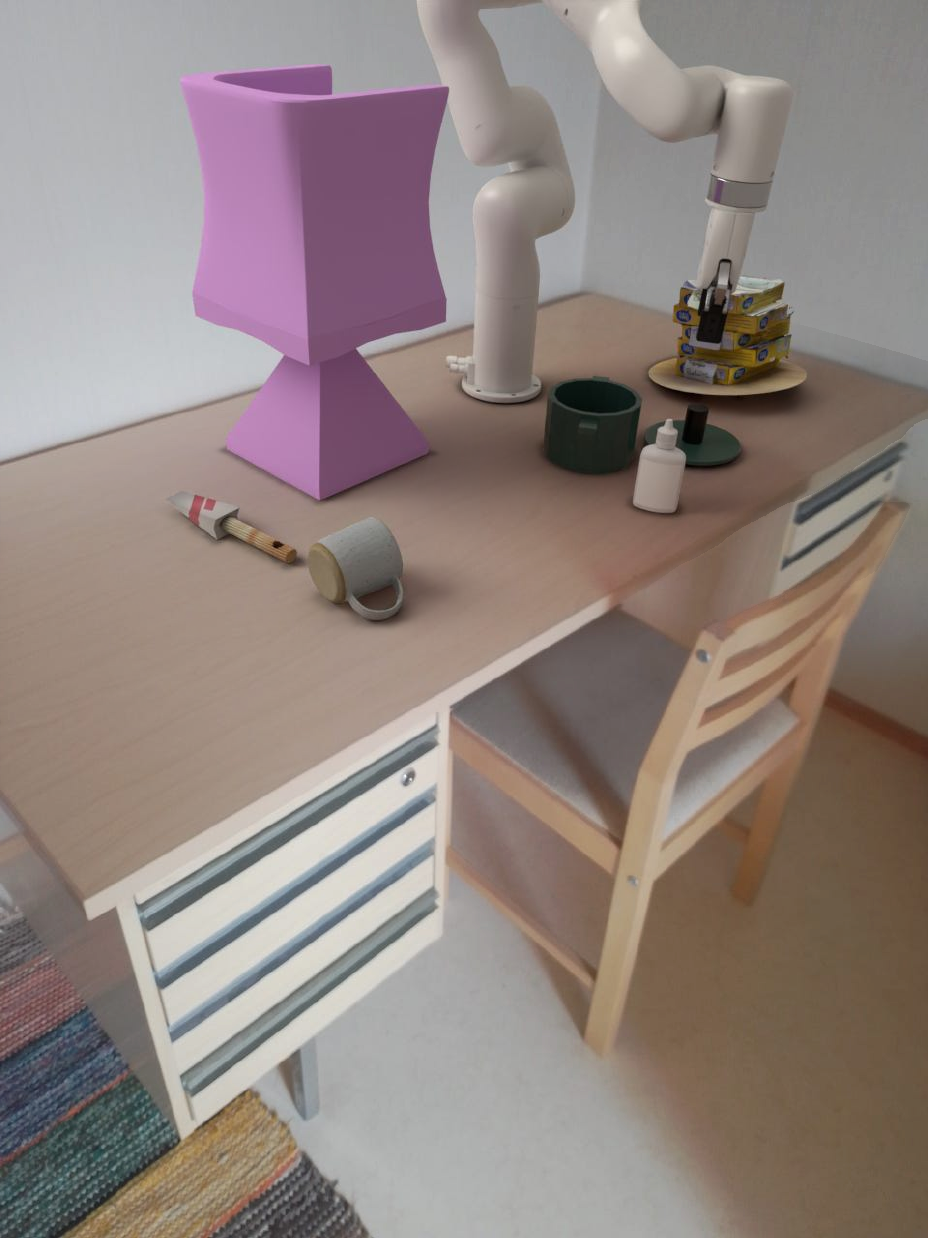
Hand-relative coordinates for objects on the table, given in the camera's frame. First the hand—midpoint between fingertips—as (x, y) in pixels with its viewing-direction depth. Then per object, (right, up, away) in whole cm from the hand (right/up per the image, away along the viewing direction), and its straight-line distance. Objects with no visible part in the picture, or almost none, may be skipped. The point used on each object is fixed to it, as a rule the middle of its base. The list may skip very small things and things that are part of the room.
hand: (708, 328), depth 127 cm
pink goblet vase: (-51, -16, +5) cm, 54 cm away
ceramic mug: (-44, -36, -23) cm, 61 cm away
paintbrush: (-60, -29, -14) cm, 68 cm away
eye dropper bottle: (-8, -24, -4) cm, 26 cm away
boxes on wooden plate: (+10, 0, +30) cm, 32 cm away
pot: (-15, -15, +7) cm, 23 cm away
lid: (0, -14, +10) cm, 17 cm away
